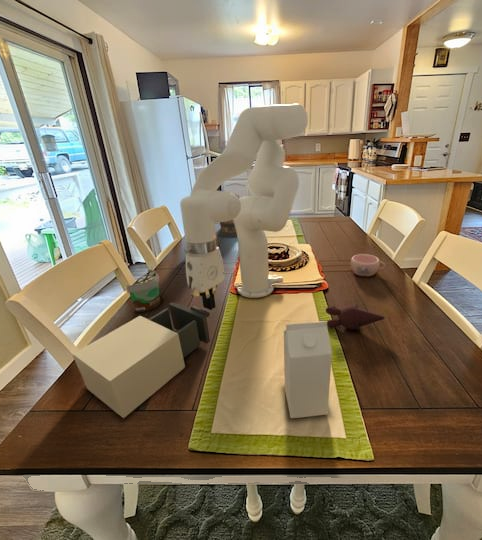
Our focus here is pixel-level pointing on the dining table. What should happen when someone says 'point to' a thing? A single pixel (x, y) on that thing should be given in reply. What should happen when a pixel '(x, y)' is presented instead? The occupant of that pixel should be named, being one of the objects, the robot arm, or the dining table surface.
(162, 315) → the drawer
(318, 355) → the milk carton
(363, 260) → the mug
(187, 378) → the dining table surface
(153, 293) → the food container
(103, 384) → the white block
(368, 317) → the icecream
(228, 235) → the tankard
